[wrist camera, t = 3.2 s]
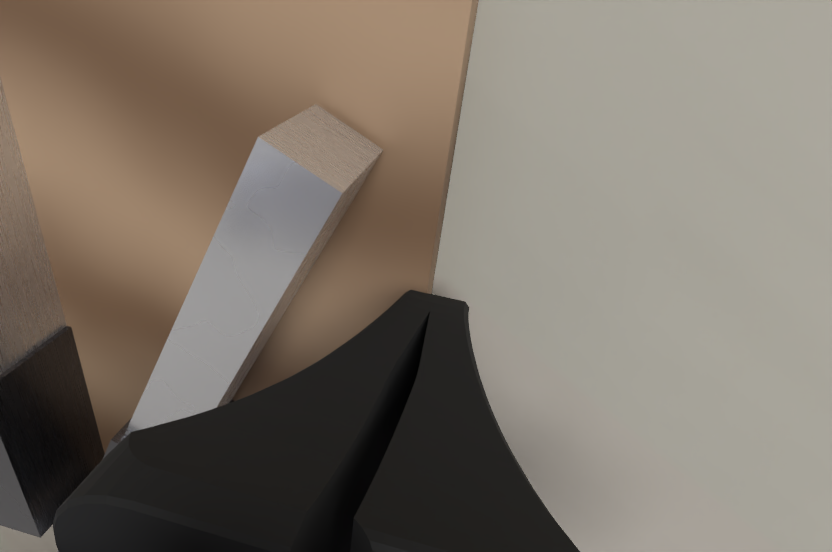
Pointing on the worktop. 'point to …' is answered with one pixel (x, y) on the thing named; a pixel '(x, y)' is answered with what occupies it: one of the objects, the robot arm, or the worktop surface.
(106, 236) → the board
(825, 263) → the worktop surface
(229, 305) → the bar
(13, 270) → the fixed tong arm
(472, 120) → the worktop surface
